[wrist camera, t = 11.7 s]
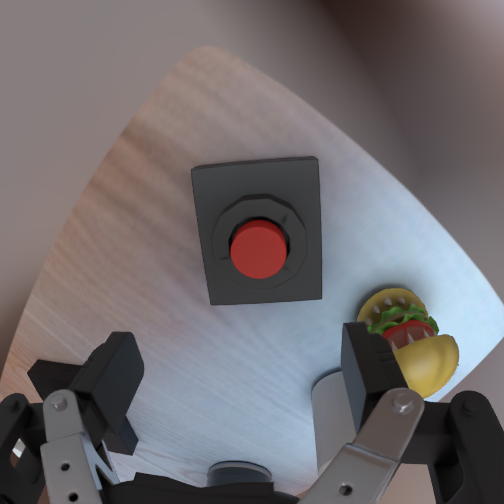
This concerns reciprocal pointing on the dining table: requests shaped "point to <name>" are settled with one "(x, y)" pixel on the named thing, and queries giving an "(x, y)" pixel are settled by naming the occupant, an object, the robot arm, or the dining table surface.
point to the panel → (60, 377)
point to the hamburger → (412, 339)
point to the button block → (260, 208)
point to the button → (258, 249)
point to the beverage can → (331, 418)
